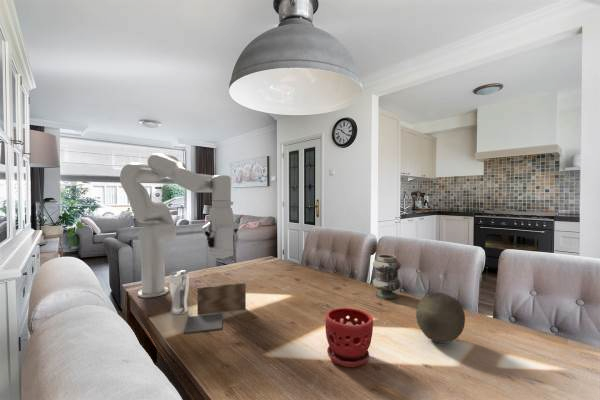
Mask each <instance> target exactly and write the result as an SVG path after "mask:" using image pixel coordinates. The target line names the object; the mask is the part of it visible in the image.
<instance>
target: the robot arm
mask: <svg viewBox="0 0 600 400" xmlns="http://www.w3.org/2000/svg"><path fill="white" fill-rule="evenodd" d="M166 178H168V179H170V180H173V181H174V182H175V184H176V185H178V186H179V187H181V188H183V189H186V190H188V191H190V192H192V193H211V196H212V197H211V205H212V206H211V207H210V208H209V212H208V218H207V219H208V220H207V223H206V224H205V225H202V227H201V230H202V232H203V234H204V235H205V236H206V237H207V246H208V248H209V247H211V248H213V247H214V238H213V235H214V234H215V232H217V229H218V228H219V227H228V226H233V246H234V244H235V236H236V233H237V232H238V230H239V228H240V226H241V225H240V224H239V223H238V222H236V221H235V219H234V211H233V208H232V206H233V205H234V201H232V198H231V197H232V178H231V176H230V175H225V174H216V175H212V174H205V173H196V172H194V171H191V170H188V168H187V165H186V164H185V163H184V162H182V161H180V160H179V159H178V157H176V156H174V155H172V154H171V155H170V154H166V153H159V152H157V153H152V154H151V155H149V157H148V158H147V163H141V162H130V163H128V164H125V165H124V166H123V167H122V169H121V170H120V174H119V182H120V184H121V187H122V189H123V192H125V194H126V196H127V197H126V198H128V202H129V205H130V207H131V210H132V213H133V216H134V219H136V221H137V222H139V223H143V224H144V223H145V224H146V223H150V224H146V225H144V226H142V227H141V228H140V229H139V231H138V234H137V237H138V242H139V246H140V266H141V268H140V271H141V273H140V274H141V275H140V276H141V277H140V278H141V279H140V280H141V289H140V290H138V291H137V296H138V297H140V298H144V299H145V298H157V297H160V296H164V295H166V294H168V292H170V287H168V286H165V285H166V281H165V280H166V276H165V275H166V273H165V272H166V269H165V267H166V264H165V261H166V260H165V255H166V254H165V250H164V248H163V246H162V244H163V243H168V242H171V241H173V240H175V238H176V236H177V228H176V225H175V222H174V219H173V217H172V214H171V211H170V209H169V207H168V206H167V205H166V204H165V203H164V202H162V201H154V200H152V199H151V197H150V194H149V192H148V190H147V189H146V187H144V185H142V183H157V182H159V181H162V180H164V179H166ZM209 227H212V230H210V231H209ZM211 232H212V233H211Z"/></svg>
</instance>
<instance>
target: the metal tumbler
mask: <svg viewBox="0 0 600 400" xmlns="http://www.w3.org/2000/svg"><path fill="white" fill-rule="evenodd" d="M168 286H169V287H168V288H169V293H170V299H171V308H170V314H171V315H175V316H178V315H183V314H186V313H187V312H188V310H189V308H188V303H187V302H188V301H187V300H188V294H189V287H190V277H189V271H187V270H177V271H172V272H170V273H169V285H168Z"/></svg>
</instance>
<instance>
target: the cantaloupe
mask: <svg viewBox="0 0 600 400" xmlns="http://www.w3.org/2000/svg"><path fill="white" fill-rule="evenodd" d="M464 310H465V309H464V308H463V307H462V305H461V303H460V302H459V301H458V300H457V299H456V298H454V297H453V296H451V295H449V294H447V293H444V292H431V293H428V294H426V295H424V296H422V298H421V299H420V300H419V302H418V306H417V309H416V312H415V318H416V323H417V325H418V326H419V329H420V330H421V332H422V333H423V335H424V336H425V337H426V338H428V339H429V340H430V341H433V342H434V343H435V342H436V343H440V344H445V343H449V342H452V341H454V340H456V339H458V338H459V336H461V334H462V333H463V331H464V329H465V325H466V324H465V323H466V314H465V311H464Z"/></svg>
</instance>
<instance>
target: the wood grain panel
mask: <svg viewBox="0 0 600 400" xmlns="http://www.w3.org/2000/svg"><path fill="white" fill-rule="evenodd" d="M196 291H197V301H196V302H197V315H201V314H203V315H204V314H212V313H213V314H214V313H222V312H231V311H243V310H246V309H247V308H246V302H247V301H246V298H247V295H246V293H247V292H246V283H245V282H244V283H242V282H241V283H231V284H220V285H206V286H197V290H196Z"/></svg>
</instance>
